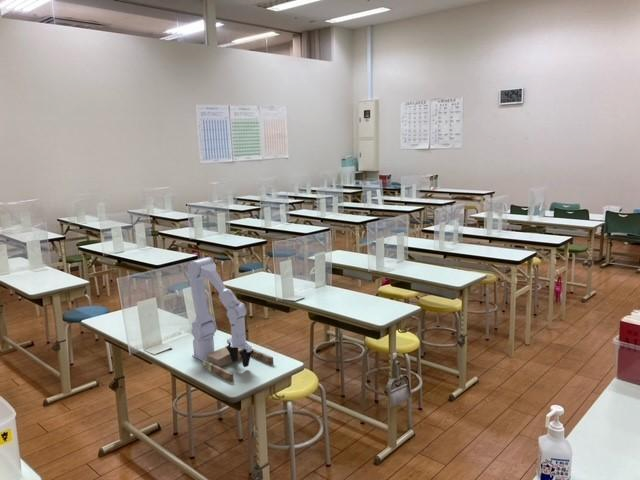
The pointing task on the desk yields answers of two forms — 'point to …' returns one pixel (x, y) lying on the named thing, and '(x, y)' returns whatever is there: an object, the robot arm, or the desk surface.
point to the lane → (229, 375)
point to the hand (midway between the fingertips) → (240, 363)
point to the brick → (221, 357)
